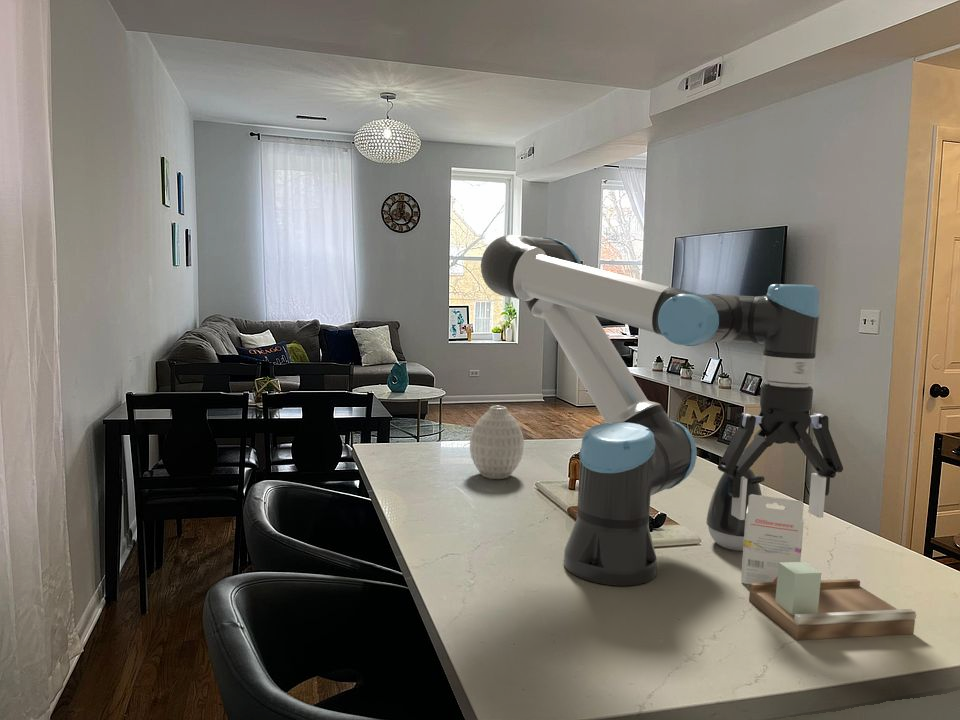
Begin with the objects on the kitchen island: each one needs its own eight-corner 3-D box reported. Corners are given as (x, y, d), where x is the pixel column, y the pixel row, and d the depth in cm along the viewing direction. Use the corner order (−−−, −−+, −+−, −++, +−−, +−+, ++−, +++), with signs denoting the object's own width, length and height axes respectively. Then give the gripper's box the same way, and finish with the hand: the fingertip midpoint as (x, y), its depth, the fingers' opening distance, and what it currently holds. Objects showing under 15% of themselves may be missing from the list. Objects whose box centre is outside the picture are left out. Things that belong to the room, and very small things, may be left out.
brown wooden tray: (797, 640, 98) (799, 617, 98) (748, 600, 110) (750, 580, 110) (914, 634, 101) (916, 612, 101) (854, 596, 113) (857, 576, 113)
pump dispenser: (736, 559, 126) (743, 474, 125) (693, 539, 135) (699, 460, 134) (777, 552, 131) (784, 469, 129) (732, 533, 140) (739, 455, 138)
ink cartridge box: (797, 582, 118) (805, 494, 116) (798, 594, 113) (806, 502, 112) (741, 572, 121) (748, 486, 119) (739, 583, 116) (747, 494, 115)
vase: (531, 475, 176) (535, 407, 174) (504, 486, 165) (508, 414, 163) (486, 465, 183) (489, 400, 181) (458, 476, 172) (460, 406, 170)
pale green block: (791, 615, 101) (795, 573, 100) (775, 602, 105) (778, 562, 104) (817, 614, 102) (821, 572, 101) (800, 601, 106) (803, 561, 105)
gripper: (725, 386, 107) (716, 526, 110) (875, 387, 112) (863, 521, 114) (701, 379, 115) (693, 510, 117) (842, 380, 119) (832, 506, 121)
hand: (777, 516), depth 116 cm, fingers open, 13 cm apart
